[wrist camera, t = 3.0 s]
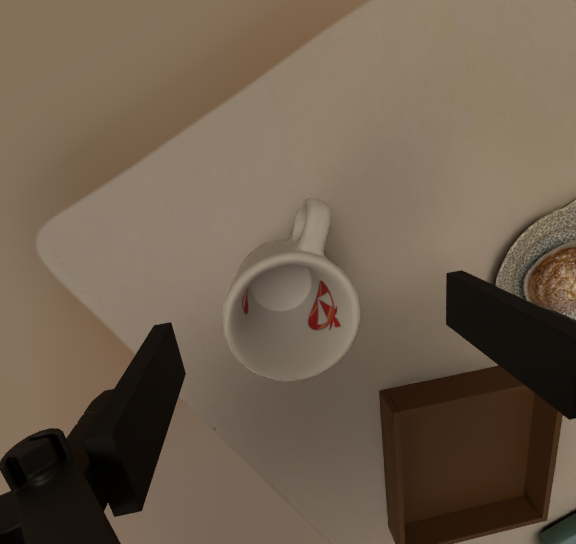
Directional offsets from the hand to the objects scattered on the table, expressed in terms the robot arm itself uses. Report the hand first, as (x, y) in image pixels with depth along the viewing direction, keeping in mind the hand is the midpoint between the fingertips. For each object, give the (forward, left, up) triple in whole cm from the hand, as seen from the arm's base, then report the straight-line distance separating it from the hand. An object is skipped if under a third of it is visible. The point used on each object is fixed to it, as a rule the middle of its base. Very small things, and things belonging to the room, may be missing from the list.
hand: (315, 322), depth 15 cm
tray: (+15, -23, -11) cm, 29 cm away
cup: (0, 0, -11) cm, 11 cm away
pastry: (+23, -5, -11) cm, 26 cm away
